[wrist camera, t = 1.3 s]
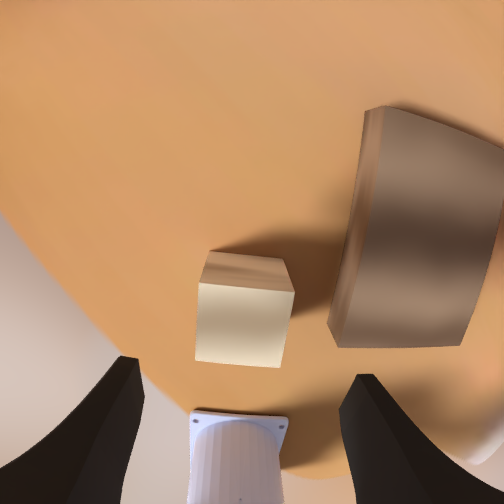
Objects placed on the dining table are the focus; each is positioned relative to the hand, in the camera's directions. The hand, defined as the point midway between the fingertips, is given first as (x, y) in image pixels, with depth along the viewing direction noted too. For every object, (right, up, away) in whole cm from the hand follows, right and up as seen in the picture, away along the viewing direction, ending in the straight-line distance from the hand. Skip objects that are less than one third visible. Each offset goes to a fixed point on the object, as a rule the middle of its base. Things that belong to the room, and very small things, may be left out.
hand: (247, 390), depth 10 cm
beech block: (0, +2, +11) cm, 11 cm away
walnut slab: (+11, +6, +10) cm, 16 cm away
